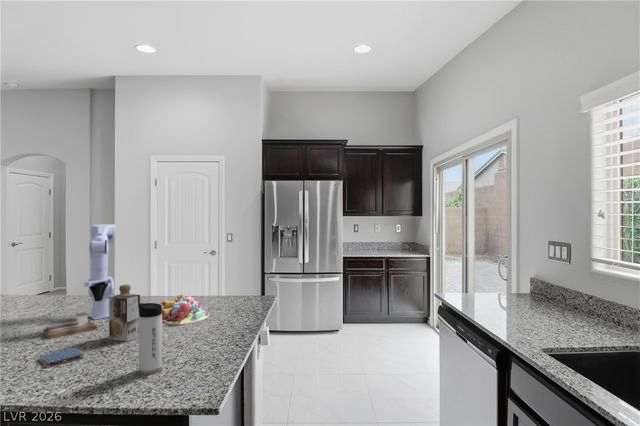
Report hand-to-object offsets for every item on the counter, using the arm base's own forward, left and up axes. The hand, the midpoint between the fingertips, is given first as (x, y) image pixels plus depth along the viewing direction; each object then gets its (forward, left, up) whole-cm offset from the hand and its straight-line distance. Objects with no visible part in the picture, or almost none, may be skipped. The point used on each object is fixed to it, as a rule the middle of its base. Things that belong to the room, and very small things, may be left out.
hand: (98, 300), depth 150 cm
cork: (-19, -26, -11) cm, 34 cm away
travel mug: (+3, +61, -11) cm, 62 cm away
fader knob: (+6, 0, -9) cm, 10 cm away
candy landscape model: (-31, +13, -11) cm, 35 cm away
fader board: (+10, 0, -10) cm, 14 cm away
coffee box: (-2, +25, -11) cm, 27 cm away
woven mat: (+19, +31, -11) cm, 38 cm away
